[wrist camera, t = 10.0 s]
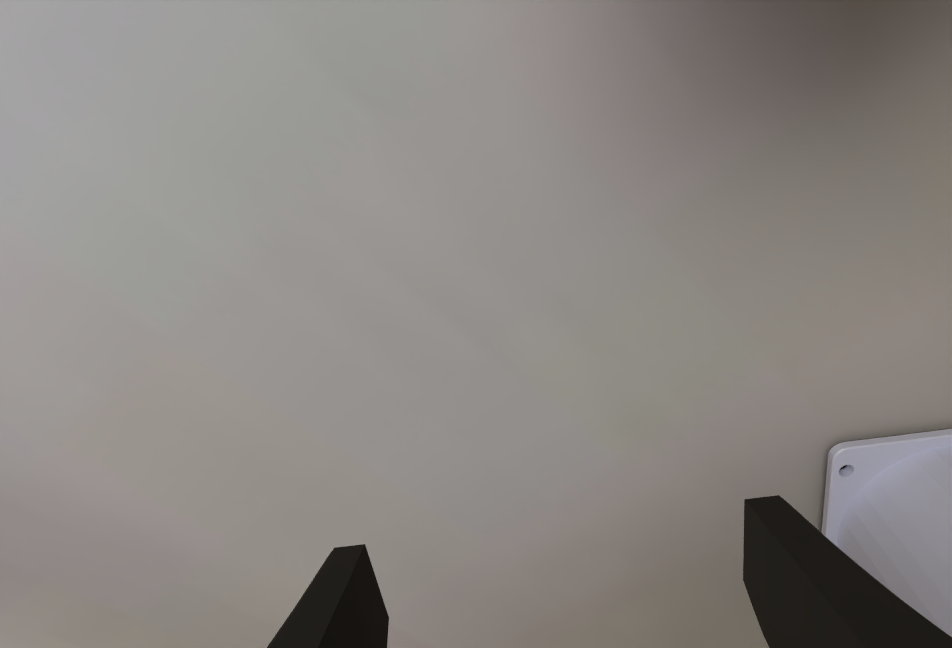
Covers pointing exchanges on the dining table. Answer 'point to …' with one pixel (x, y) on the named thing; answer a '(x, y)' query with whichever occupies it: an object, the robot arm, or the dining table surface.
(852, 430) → the dining table surface
